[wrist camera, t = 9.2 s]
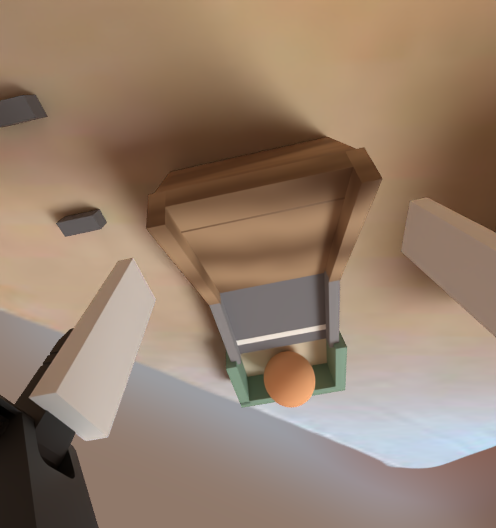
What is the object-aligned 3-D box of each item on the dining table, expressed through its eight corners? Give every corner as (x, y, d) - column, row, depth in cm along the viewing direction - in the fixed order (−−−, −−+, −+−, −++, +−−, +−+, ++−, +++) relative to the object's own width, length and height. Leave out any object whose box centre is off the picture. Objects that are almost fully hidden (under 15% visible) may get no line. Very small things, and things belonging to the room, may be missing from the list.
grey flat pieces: (-9, 105, 16) (-24, 106, 15) (35, 95, 16) (22, 95, 15) (72, 230, 21) (65, 236, 20) (106, 222, 21) (100, 229, 20)
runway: (209, 281, 25) (207, 300, 23) (329, 257, 25) (339, 274, 22) (232, 344, 31) (232, 365, 28) (330, 326, 30) (338, 346, 28)
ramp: (168, 168, 19) (137, 209, 12) (327, 133, 18) (384, 155, 12) (212, 289, 26) (206, 357, 19) (329, 266, 25) (366, 328, 18)
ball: (260, 377, 26) (270, 424, 28) (317, 367, 26) (325, 415, 27) (258, 346, 32) (267, 386, 34) (304, 337, 32) (312, 378, 33)
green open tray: (226, 342, 30) (225, 368, 28) (335, 322, 30) (346, 347, 27) (240, 381, 35) (242, 407, 32) (335, 365, 35) (345, 389, 32)
